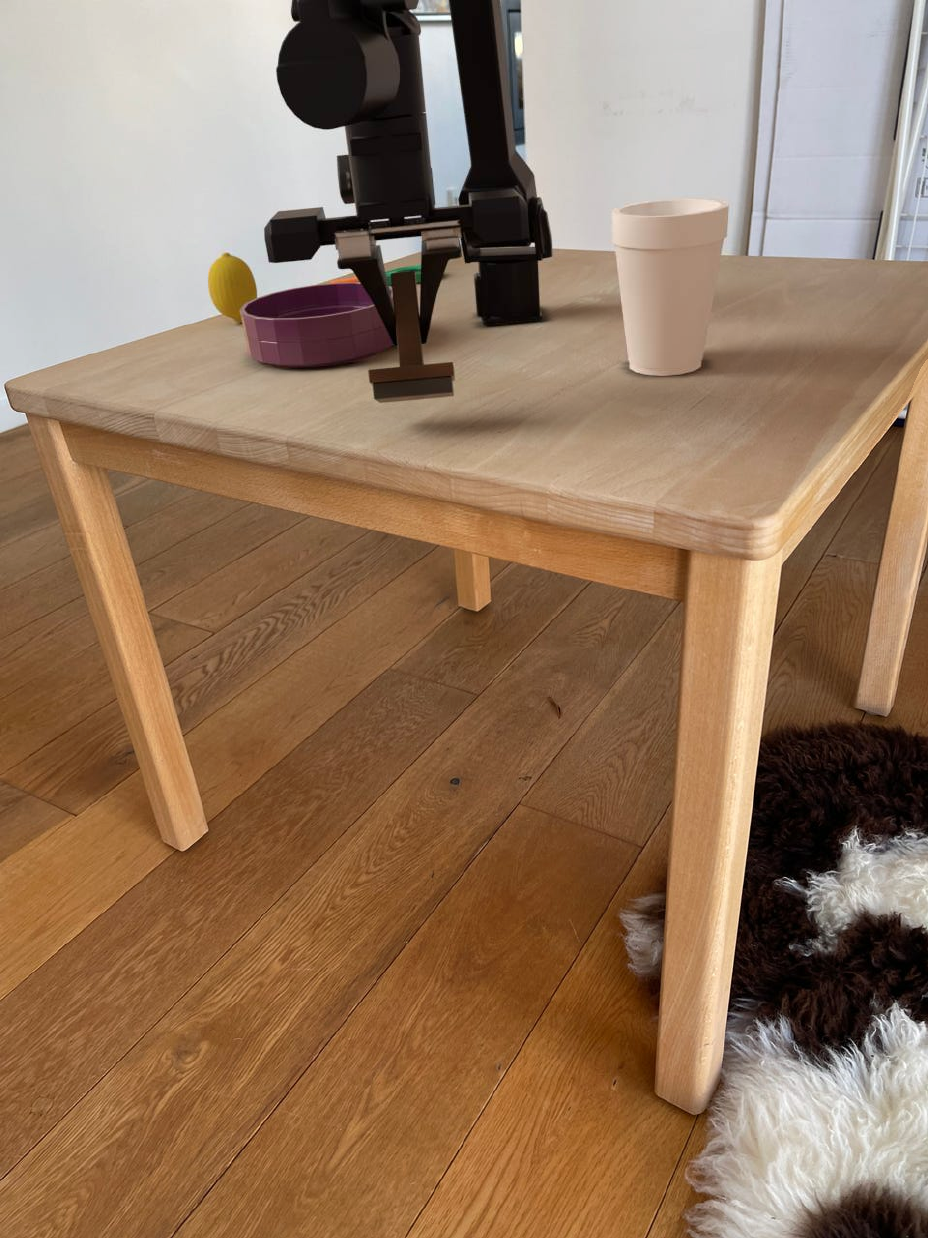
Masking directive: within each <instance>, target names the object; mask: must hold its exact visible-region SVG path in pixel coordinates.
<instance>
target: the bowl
mask: <svg viewBox="0 0 928 1238" xmlns="http://www.w3.org/2000/svg"><path fill="white" fill-rule="evenodd" d="M388 286H389V290H390V294H391V298H392V302H393V293H392V285H388ZM393 306H394V303H393ZM240 315H241V320H242V322H241V323H242V324H241V325H242V329H243V334H244V335H243V336H244V340H245V345H246V350H247V353H248V355H249V356H250V358H251V359H252V360H255V361H257V362H260V363H263V364H268V365H271V366H275V367H281V368H292V369H293V368H296V369H297V368H298V369H299V368H300V369H301V368H303V369H304V368H321V367H329V366H337V365H341V364H347V363H348V364H349V363H351V362H356V361H360V360H364V359H367V358H370V357H373V356H375V355H377V354H380V353H382V352H383V351H385V350H386V349H388V348H389V347H392V346H394V345H393V343H392V341H391V339H390V337H389V335H388V332H387V330H386V328H385V326H384V324H383V322H382V320H381V318H380V316H379V314H378V312H377V310H376V308H375V306H374V304H373V302H372V300H371V298H370V297H369V295H368V294H367V292H366V291H365V289H364V288H363V286H362V285H361V283H360V282H349V283H330V282H329V283H321V284H312V285H305V286H298V287H293V288H288V289H283V290H279V291H275V292H271V293H268V294H265V295H261V296H259V297H258V296H257V298H255V299H253V300H251V301H249V302H247V303H245V304H244V305H243V306H242V307H241V309H240Z"/></svg>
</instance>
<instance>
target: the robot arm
mask: <svg viewBox="0 0 928 1238" xmlns="http://www.w3.org/2000/svg"><path fill="white" fill-rule="evenodd" d="M419 2H420V0H291V5H290V16H291V19H292V21H293V22H294V23H296V24H295V25H294V26H293V27H292V28H291V29H290V30H289V31H288V33H287V34H286V36H285V37H284V39H283V41H282V43H281V46H280V49H279V52H278V59H277V66H276V69H275V73H276V81H277V85H278V87H279V92H280V95H281V96H282V97H281V98H282V99H283V101H284V103H285V105H286V106H287V108H288V109H289V110H290V111H291V113H292V114H293V116H295V117H296V118H297V119H298V120H299V121H301V122H302V123H303V124H305V125H308V126H309V127H312V128H314V129H319V130H324V131H325V130H326V131H328V130H335V129H339V128H344V130H345V131H344V132H345V139H346V140H345V141H346V146H347V154H340V155H337V156H336V167H337V180H338V189H339V190H338V191H339V195H340V198H341V200H342V203H343V204H344V205H351V204H354V206H355V214H356V215H345V216H335V217H334V216H333V217H326V214H325V210H324V207H323V206H319V207H318V206H317V207H310V208H309V207H308V208H299V209H287V210H279V211H276V212H275V214H274V215H273V216H272V217H271V218H270V219H269V220H268V222H267V223H266V225H265V227H264V228H263V237H264V244H265V250H266V255H267V261H268V263H272V264H281V263H290V262H302V261H311V260H312V259H313V258H314V256H315V255H316V254H317V252H318V251H319V250H320V248H321V247H324V246H325V247H326V246H334V245H335V247H334V248H335V250H336V251H337V254H338V258H337V260H336V265H337V269H339V270H351V271H352V272H353V274H354V275H355V277H357V279H358V280H359V282H360V283H361V285H362V286H363V288H364V289H365V291H366V292H367V294H368V295H369V297H370V298H371V300H372V302H373V304H374V306H375V308H376V310H377V312H378V314H379V316H380V318H381V320H382V322H383V324H384V326H385V328H386V330H387V332H388V335H389V337H390V339H391V341H392V343H393V345H392V346H394V348H398V344H397V334H396V323H395V313H394V306H393V302H392V298H391V294H390V290H389V286H390V285H388V281H387V277H386V273H385V272H386V270H385V263H384V258H383V253H382V252H383V251H382V248H381V245H380V244H377V241H386V240H387V241H388V240H397V239H398V240H399V239H408V238H409V239H410V238H418V237H421V246H420V247H421V249H420V265H421V282H419V283H420V287H419V288H420V289H419V316H420V321H419V325H420V333H421V341H422V345H426V344H427V343H428V337H429V334H430V329H431V323H432V319H433V315H434V307H435V304H436V300H437V295H438V291H439V288H440V286H441V283H442V280H443V277H444V274H445V271H446V269H447V266H448V262H449V261H451V260H456V259H460V258H462V257H463V260H464V264H466V265H467V264H472V263H477V265H478V272H475V273H474V274H473V283H474V299H475V309H476V310H475V311H476V315H477V317H478V318H481V322H482V325H483V326H493V325H501V324H503V325H504V324H514V323H523V322H533V321H535V322H536V321H542V320H543V319H544V318H543V317H544V316H543V313H542V311H541V299H540V275H539V273H540V272H539V262H542V261H543V260H545V259H549V258H553V255H554V254H553V238H552V230H551V226H550V221H549V214H548V212H547V211H546V210H545V206H544V203H543V200H542V198H541V197H540V196H538V192H537V185H536V179H535V178H536V177H535V174H534V172H533V171H532V169H531V168H530V167H529V165H528V164H527V162H526V161H525V159H523V158H522V156H521V154H520V153H519V152H518V151H517V148H516V147H517V146H516V137H515V129H514V119H513V109H512V100H511V89H510V80H509V79H510V78H509V70H508V61H507V50H506V41H505V40H506V39H505V32H504V22H503V21H504V20H503V13H502V11H503V10H502V4H501V0H448V7H449V13H450V21H451V27H452V28H451V29H452V35H453V43H454V50H455V58H456V65H457V73H458V81H459V87H460V94H461V101H462V102H461V103H462V109H463V117H464V125H465V132H466V138H467V146H468V153H469V161H470V168H469V169H468V172H467V175H466V177H465V180H464V182H463V185H462V187H461V190H460V192H459V196H458V198H457V199H458V200H457V201H458V205H451V206H449V205H448V206H439V207H436V196H435V195H436V194H435V183H434V174H433V168H432V161H431V160H432V159H431V150H430V149H431V148H430V139H429V129H428V120H427V119H428V116H427V109H426V98H425V96H426V95H425V85H424V77H423V63H422V55H421V54H422V53H421V44H420V36H421V34H422V27H421V24H420V22H419V19H418V17H417V16H416V15H414V13H412V12H411V11H412V10H413V11H414V10H417V8H418V5H419ZM532 244H534V246H531V245H532Z"/></svg>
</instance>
